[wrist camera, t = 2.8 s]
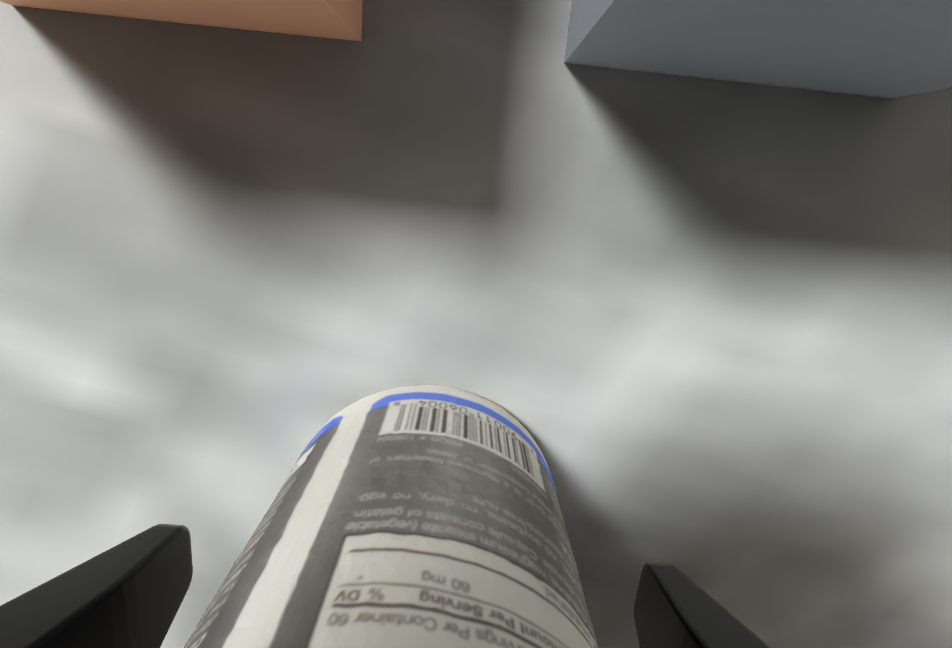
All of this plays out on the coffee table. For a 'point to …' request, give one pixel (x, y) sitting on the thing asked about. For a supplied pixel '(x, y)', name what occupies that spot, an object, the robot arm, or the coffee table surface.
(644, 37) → the slate-grey block
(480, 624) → the pill bottle
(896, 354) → the coffee table surface
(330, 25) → the terracotta block
